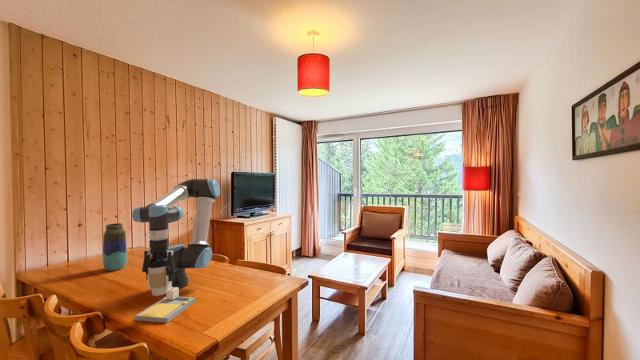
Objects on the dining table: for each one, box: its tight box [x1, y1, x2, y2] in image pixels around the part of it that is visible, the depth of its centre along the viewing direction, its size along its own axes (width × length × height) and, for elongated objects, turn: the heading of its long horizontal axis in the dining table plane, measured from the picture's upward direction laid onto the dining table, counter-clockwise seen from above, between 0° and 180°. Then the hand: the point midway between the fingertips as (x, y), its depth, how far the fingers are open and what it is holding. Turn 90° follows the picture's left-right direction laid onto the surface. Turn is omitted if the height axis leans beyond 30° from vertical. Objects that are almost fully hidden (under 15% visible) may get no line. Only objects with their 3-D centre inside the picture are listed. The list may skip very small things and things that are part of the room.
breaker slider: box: [165, 287, 180, 300], centre depth 137 cm, size 4×4×5 cm
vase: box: [101, 222, 128, 272], centre depth 189 cm, size 14×14×31 cm
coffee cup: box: [147, 258, 169, 297], centre depth 125 cm, size 10×10×15 cm
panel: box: [134, 296, 197, 324], centre depth 129 cm, size 16×20×2 cm
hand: (159, 287), depth 125 cm, fingers closed on coffee cup, 9 cm apart
